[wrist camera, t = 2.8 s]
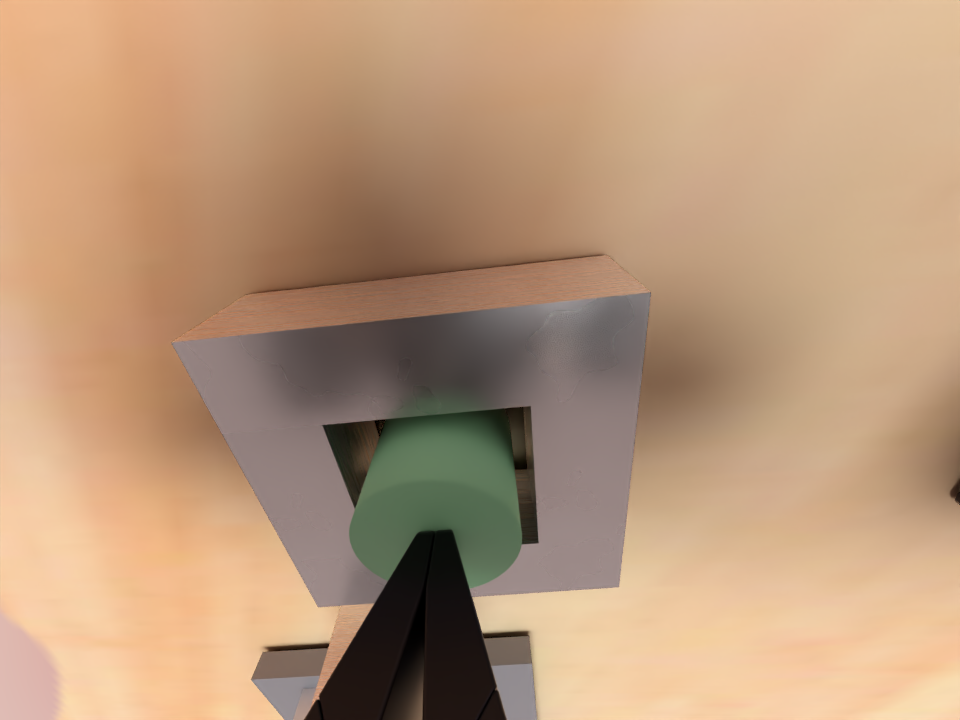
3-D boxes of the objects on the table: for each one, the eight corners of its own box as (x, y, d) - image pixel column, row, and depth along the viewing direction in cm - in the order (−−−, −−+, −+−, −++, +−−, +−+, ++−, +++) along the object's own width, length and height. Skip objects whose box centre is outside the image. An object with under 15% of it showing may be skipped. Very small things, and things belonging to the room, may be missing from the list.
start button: (505, 372, 11) (516, 472, 8) (513, 471, 13) (526, 586, 10) (372, 384, 12) (326, 487, 8) (400, 480, 14) (372, 596, 10)
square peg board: (607, 254, 10) (651, 292, 8) (594, 510, 15) (618, 587, 12) (245, 294, 11) (171, 342, 8) (345, 529, 16) (318, 607, 13)
